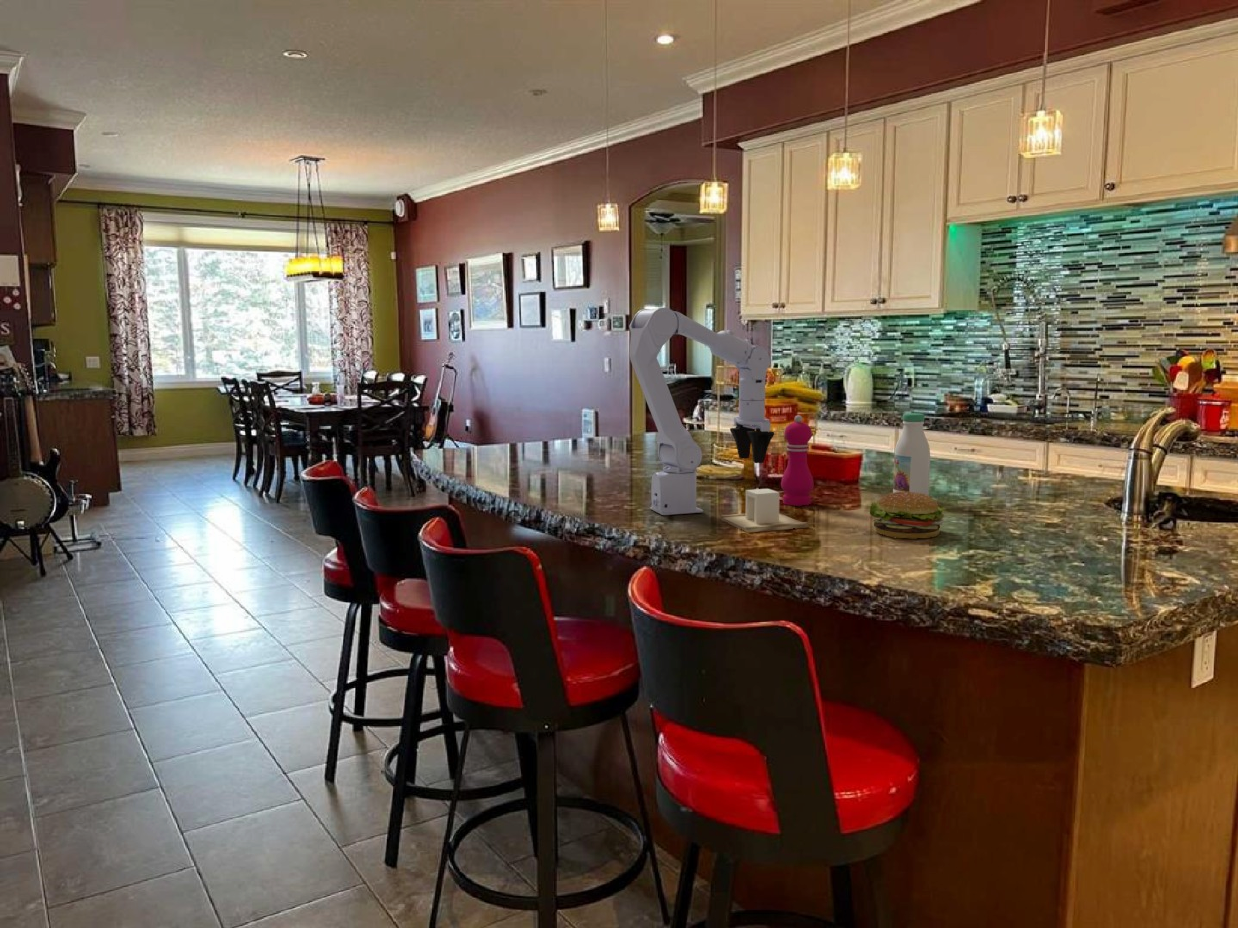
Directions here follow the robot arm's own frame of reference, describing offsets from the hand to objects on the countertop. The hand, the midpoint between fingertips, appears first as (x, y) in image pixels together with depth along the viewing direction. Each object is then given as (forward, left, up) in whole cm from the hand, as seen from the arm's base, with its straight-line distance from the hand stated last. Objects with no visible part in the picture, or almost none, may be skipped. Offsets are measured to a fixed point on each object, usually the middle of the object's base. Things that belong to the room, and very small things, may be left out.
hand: (751, 460), depth 199 cm
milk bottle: (+35, -10, -10) cm, 38 cm away
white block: (-7, -20, -9) cm, 23 cm away
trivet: (-7, -20, -10) cm, 23 cm away
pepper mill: (+10, -3, -10) cm, 15 cm away
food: (+15, -37, -10) cm, 41 cm away
